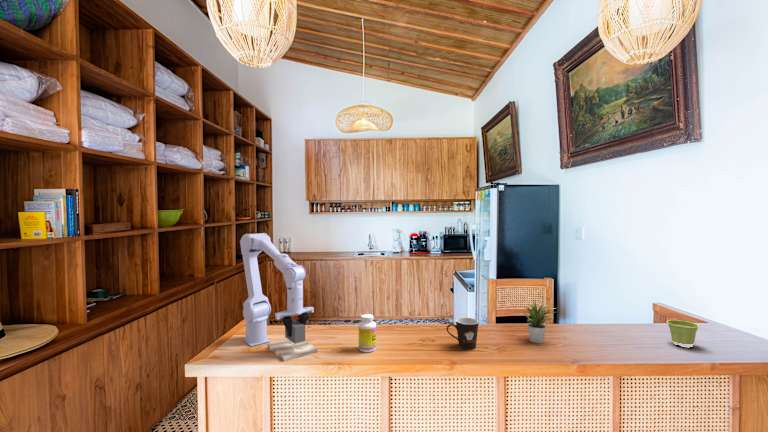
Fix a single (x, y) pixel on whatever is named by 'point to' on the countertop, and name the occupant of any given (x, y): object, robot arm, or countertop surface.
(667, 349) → the countertop surface
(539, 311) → the house plant
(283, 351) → the ash board
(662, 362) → the countertop surface
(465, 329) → the coffee mug
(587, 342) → the countertop surface
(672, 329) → the plant pot
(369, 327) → the supplement bottle
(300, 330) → the block
